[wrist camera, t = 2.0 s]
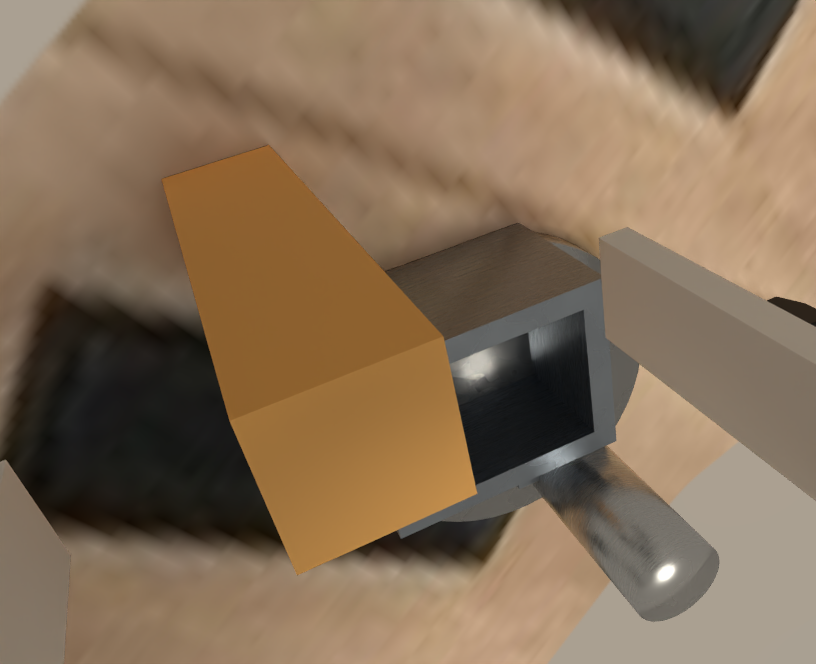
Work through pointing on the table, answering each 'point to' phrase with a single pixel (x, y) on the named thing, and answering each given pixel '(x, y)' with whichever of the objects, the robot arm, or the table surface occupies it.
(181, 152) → the table surface
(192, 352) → the table surface
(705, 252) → the table surface
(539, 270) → the bracket
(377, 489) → the orange rectangular block
